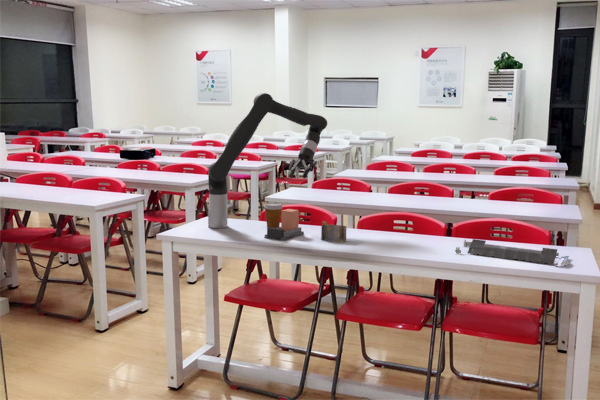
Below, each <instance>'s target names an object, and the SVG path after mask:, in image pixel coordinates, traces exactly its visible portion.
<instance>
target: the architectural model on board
mask: <svg viewBox="0 0 600 400" xmlns="http://www.w3.org/2000/svg"><path fill="white" fill-rule="evenodd" d="M321 223H322V224H321V230H320V231H321V233H320V234H321V236H320V237H321V238H320V239H321V241H323V240H325V241H326V242H335V243H347V225H340V224H338V225H337V224H328V222H327V221H322V222H321Z"/></svg>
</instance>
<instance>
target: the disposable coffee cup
mask: <svg viewBox="0 0 600 400" xmlns="http://www.w3.org/2000/svg"><path fill="white" fill-rule="evenodd" d="M263 207H264V210H265V220H266V221H265V222H266V228H269V227H271V228H280V226H281V225H280V224H281V211H282V210H283V204H282V203H279V202H267V203H264V206H263Z"/></svg>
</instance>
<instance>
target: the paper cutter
mask: <svg viewBox="0 0 600 400" xmlns="http://www.w3.org/2000/svg"><path fill="white" fill-rule="evenodd" d="M464 246H470V247H468V250H467V254H469V253H470V255H477V254H479V255H478V256H484V255H485V256H486V257H492V256H494V257H493V258H499V257H502V258H501V259H506V258H511V259H510V260H514V259H518V260H517V261H521V260H525V261H524V262H529V261H532V262H531V263H536V262H539V263H538V264H544V263H548V264H547V265H551V264H554V265H555V262H556V261H555V260H556V256H559V255H560V254H559V252H558V248H548V247H542V250H539V249H532V248H531V249H530V248H529V249H528V248H522V247H514V246H508V245H507V246H506V245H497V244H489V243H486V240H484V239H483V240H482V239H477V238H476V239H474V238H472V241H467V239H464V241H463V247H464ZM455 252H456V253H461V254H462V249H461V250H460V246H459V247H455V249H454V253H455ZM559 257H561V258H564V260H563V261H562V263H561V265H560V266H559V267H563V266H568V265H569V264H570V260H568V259H569V257H570V256H569V255H565V256H559Z"/></svg>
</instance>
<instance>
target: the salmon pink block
mask: <svg viewBox="0 0 600 400" xmlns="http://www.w3.org/2000/svg"><path fill="white" fill-rule="evenodd" d="M299 212H300V211H299V209H293V208H287V209H282V210H281V217H280V224H281V225H280V227H281V229H284V231H288V230H292V229H295V228H299V226H300V225H299V222H300V220H299V217H300V216H299V215H300V213H299Z"/></svg>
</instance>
